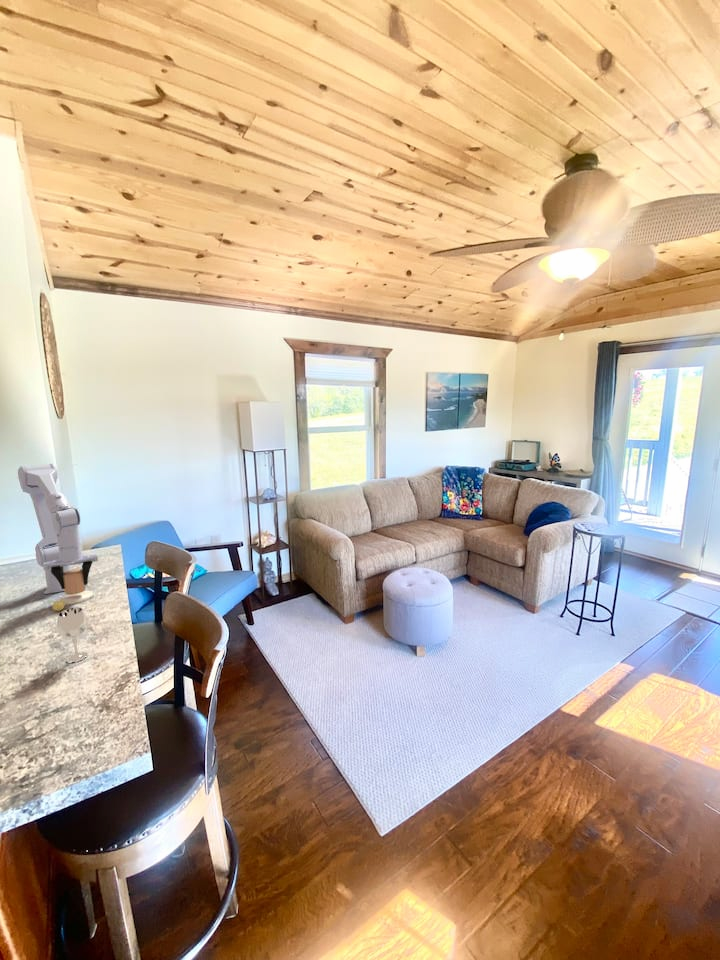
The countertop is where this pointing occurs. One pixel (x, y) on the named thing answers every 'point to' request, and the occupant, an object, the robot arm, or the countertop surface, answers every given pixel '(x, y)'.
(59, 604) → the ball
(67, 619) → the wineglass
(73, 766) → the countertop surface
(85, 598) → the dish
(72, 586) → the cup
